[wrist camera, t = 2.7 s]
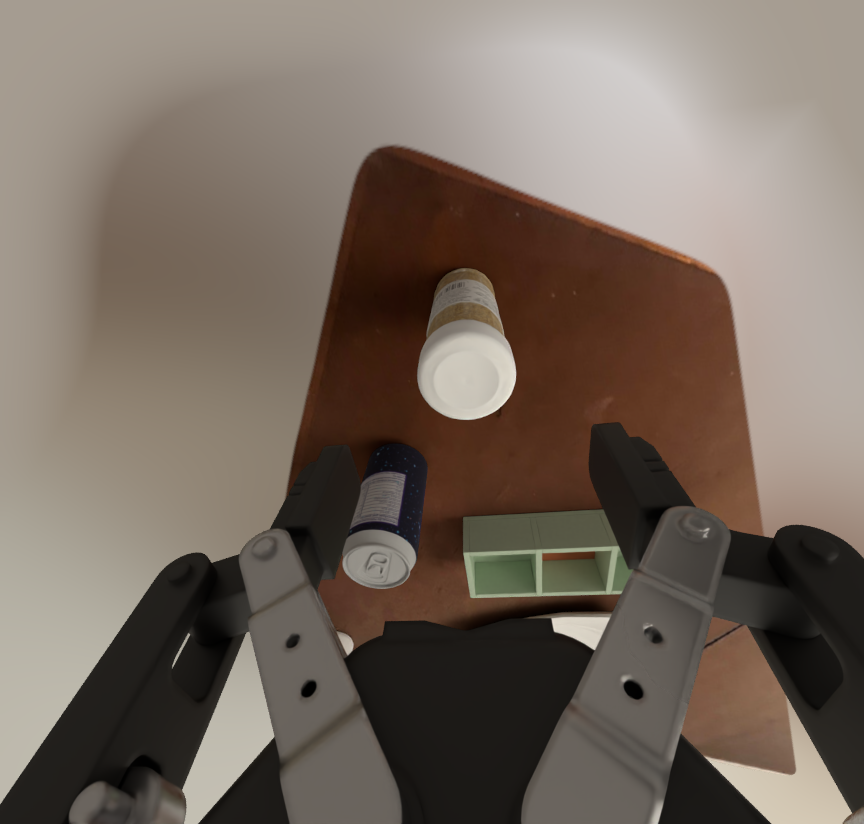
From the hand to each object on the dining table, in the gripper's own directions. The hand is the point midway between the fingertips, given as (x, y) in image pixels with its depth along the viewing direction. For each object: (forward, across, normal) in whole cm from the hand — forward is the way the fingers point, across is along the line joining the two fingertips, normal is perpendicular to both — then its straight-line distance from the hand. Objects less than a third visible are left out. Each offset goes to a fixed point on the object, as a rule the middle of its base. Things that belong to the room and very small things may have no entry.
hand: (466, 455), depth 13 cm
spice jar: (+19, 0, 0) cm, 19 cm away
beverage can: (+19, +8, +15) cm, 25 cm away
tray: (+19, -8, +27) cm, 34 cm away
